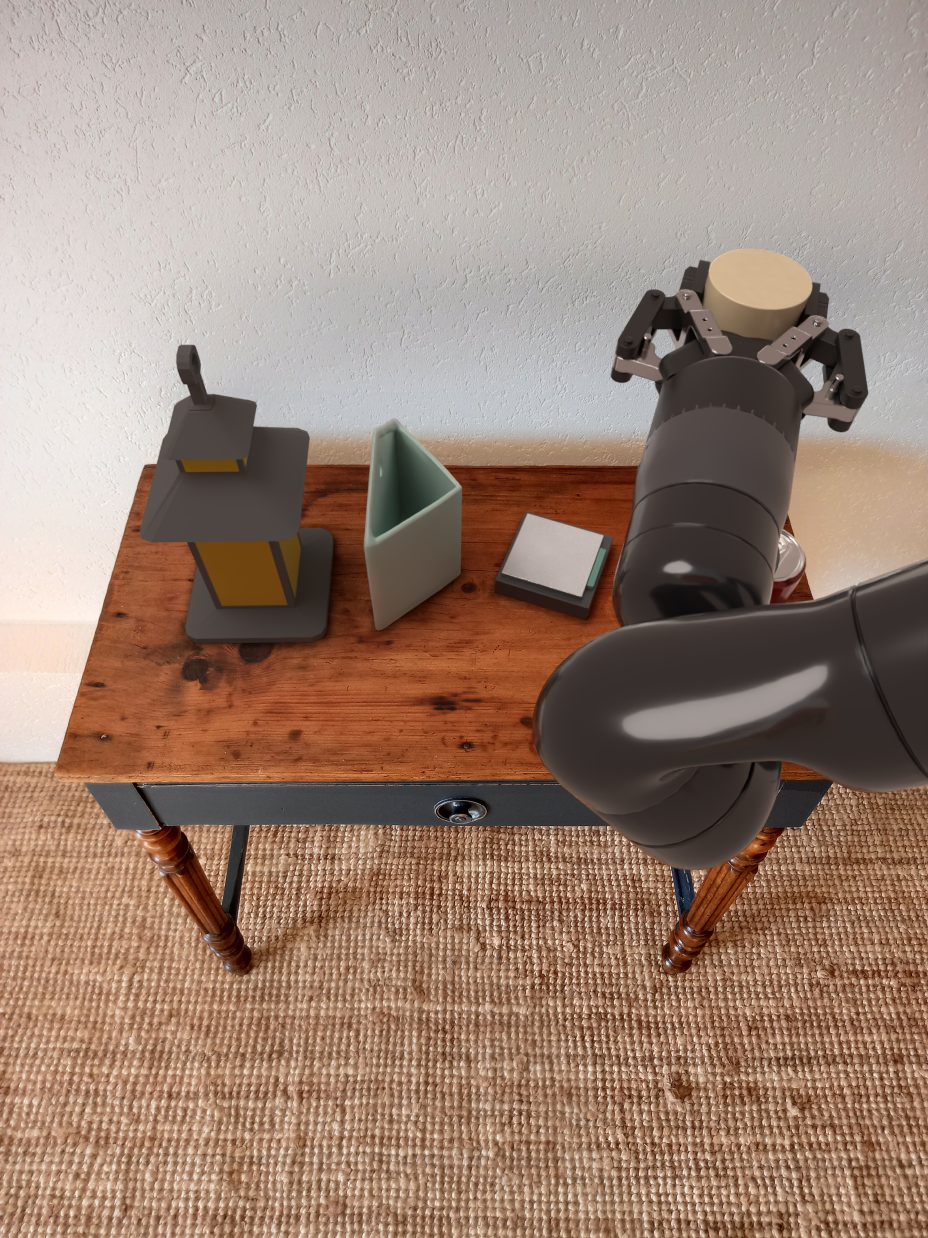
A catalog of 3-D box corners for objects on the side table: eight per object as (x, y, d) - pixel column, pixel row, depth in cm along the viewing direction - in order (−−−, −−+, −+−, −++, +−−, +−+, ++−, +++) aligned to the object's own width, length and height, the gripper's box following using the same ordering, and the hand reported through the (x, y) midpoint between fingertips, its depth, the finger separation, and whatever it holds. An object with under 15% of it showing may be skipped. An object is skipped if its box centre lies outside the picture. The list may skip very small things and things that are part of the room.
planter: (452, 638, 81) (452, 508, 65) (374, 630, 82) (355, 500, 65) (468, 515, 90) (472, 374, 74) (398, 509, 91) (387, 367, 74)
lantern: (185, 643, 80) (64, 417, 55) (206, 534, 88) (108, 292, 63) (325, 641, 81) (269, 415, 56) (334, 533, 88) (288, 291, 63)
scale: (610, 549, 88) (614, 533, 85) (585, 620, 83) (589, 605, 80) (523, 524, 90) (525, 507, 87) (494, 592, 84) (495, 576, 82)
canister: (769, 381, 55) (819, 261, 48) (754, 438, 52) (805, 319, 45) (683, 359, 57) (719, 239, 49) (664, 414, 53) (699, 294, 46)
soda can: (723, 664, 80) (762, 595, 70) (680, 610, 83) (711, 537, 73) (780, 636, 82) (826, 565, 72) (735, 584, 85) (773, 510, 75)
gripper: (894, 449, 37) (902, 249, 46) (589, 380, 39) (652, 203, 48) (830, 551, 43) (847, 358, 52) (569, 486, 45) (629, 312, 54)
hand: (754, 284), depth 50 cm, fingers closed on canister, 6 cm apart
